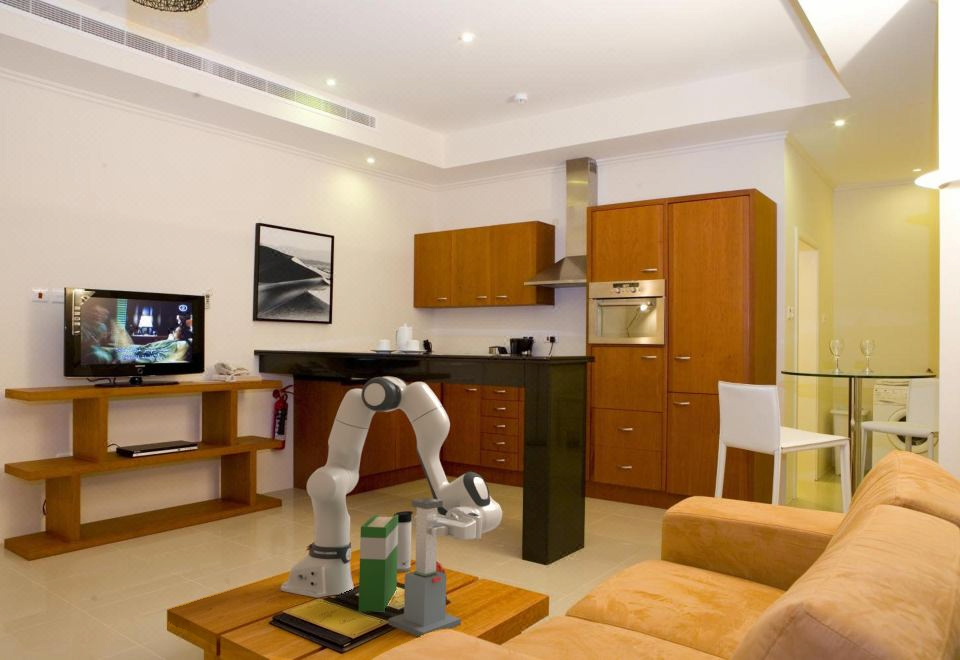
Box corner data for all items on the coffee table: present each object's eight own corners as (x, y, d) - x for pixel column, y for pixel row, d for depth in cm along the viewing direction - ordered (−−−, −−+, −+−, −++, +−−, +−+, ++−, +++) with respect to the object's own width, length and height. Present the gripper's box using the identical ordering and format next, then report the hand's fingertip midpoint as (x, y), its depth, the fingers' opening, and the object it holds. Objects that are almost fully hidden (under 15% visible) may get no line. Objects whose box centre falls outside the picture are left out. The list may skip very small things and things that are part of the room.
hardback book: (373, 592, 214) (375, 514, 215) (396, 593, 213) (398, 514, 215) (358, 611, 196) (360, 526, 198) (383, 613, 196) (386, 527, 197)
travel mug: (408, 573, 234) (409, 513, 235) (389, 571, 236) (391, 512, 237) (413, 567, 240) (414, 510, 242) (395, 566, 242) (397, 509, 243)
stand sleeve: (388, 624, 187) (389, 573, 188) (425, 611, 197) (426, 563, 198) (423, 638, 178) (424, 585, 178) (460, 624, 188) (461, 574, 189)
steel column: (409, 595, 188) (411, 500, 189) (425, 590, 192) (427, 497, 194) (424, 600, 184) (426, 503, 185) (440, 595, 188) (442, 500, 190)
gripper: (434, 506, 206) (399, 513, 196) (485, 517, 192) (450, 524, 182) (434, 527, 205) (399, 535, 195) (485, 539, 192) (450, 549, 181)
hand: (424, 530), depth 188 cm, fingers closed on steel column, 4 cm apart
